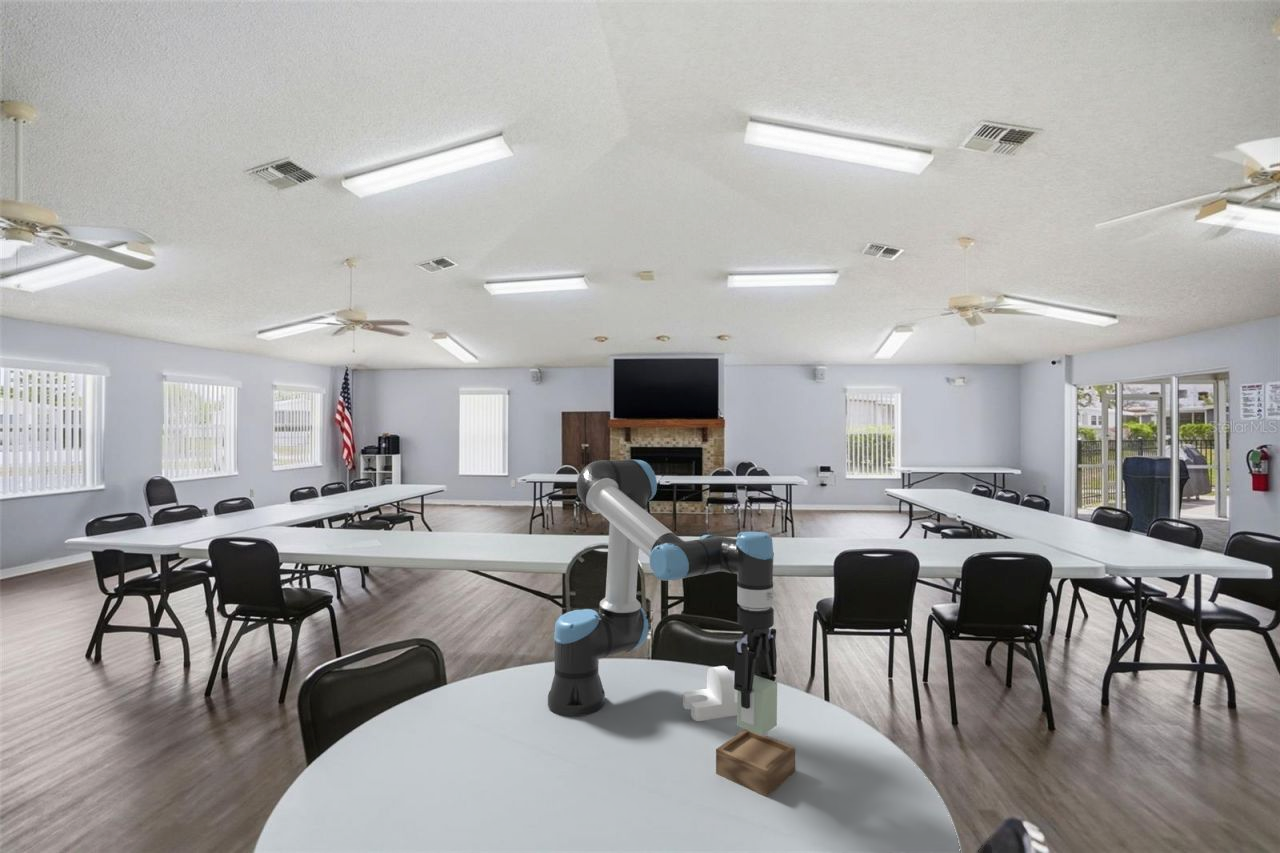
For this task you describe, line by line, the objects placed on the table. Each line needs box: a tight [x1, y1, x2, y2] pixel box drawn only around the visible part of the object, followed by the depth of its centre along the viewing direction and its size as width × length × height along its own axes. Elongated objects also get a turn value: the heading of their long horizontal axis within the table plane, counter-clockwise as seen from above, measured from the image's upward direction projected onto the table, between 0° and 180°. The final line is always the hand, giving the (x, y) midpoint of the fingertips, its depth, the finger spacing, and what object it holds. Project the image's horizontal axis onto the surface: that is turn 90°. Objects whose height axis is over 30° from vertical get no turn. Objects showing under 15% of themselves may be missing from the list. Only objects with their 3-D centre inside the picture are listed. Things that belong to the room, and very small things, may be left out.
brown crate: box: [715, 728, 796, 798], centre depth 122 cm, size 12×12×5 cm
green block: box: [736, 674, 778, 736], centre depth 122 cm, size 6×6×9 cm
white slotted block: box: [682, 665, 738, 722], centre depth 151 cm, size 10×18×11 cm, turn 107°
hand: (756, 716), depth 122 cm, fingers closed on green block, 6 cm apart
